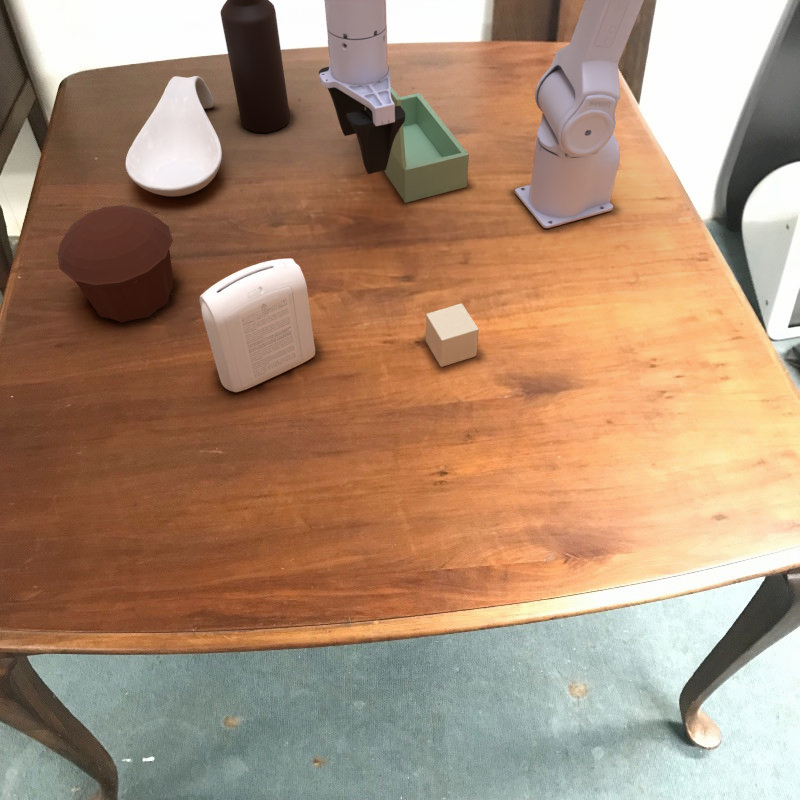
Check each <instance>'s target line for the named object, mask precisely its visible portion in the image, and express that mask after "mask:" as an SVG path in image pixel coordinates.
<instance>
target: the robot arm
mask: <svg viewBox="0 0 800 800" xmlns="http://www.w3.org/2000/svg"><path fill="white" fill-rule="evenodd" d="M644 2H645V0H584V3H583V6H582V8H581V12H580V14H579V17H578V20H577V23H576V26H575V28H574V31H573V34H572V37H571V40H570V43H569V44H568V45H565V46H563V47H561V48H560V49H558V50H556V52H555V55H554V58H553V60H552V63H551V65H550V66H549V68H548V69H547V70H546V71H545V72H544V74H543V75H542V76H541V77H540V78H539V80H538V82H537V84H536V87H535V92H534V100H535V103H536V106H537V108H538V109H539V110H540V111H541V113H542V114H541V120H540V124H539V126H538V128H537V134H536V140H535V147H534V155H533V162H532V168H531V169H532V170H531V175H530V178H531V179H530V183H529V184H528V185H523V186H520V187H516V188H515V189H514V193H515V195H516V196H517V197H518V198H519V200H520V201H521V202H522V204H523V205H524V206H525V207H526V208H527V210H528V211H529V212H530V214H531V215H532V216H533V217H534V218H535V219H536V221H537V222H538V223H539V224H540V226H541V227H542V228H544V229H550V228H554V227H557V226H561V225H564V224H568V223H572V222H575V221H579V220H582V219H586V218H589V217H594V216H597V215H600V214H604V213H607V212H611V211H613V210H614V205H613V204H612V203H611V199H612V194H613V191H614V186H615V182H616V179H617V174H618V170H619V165H620V159H621V155H620V153H621V152H620V146H619V142H618V139H617V137H616V135H615V131H616V130H615V128H616V123H617V122H616V111H617V106H618V103H619V101H620V99H621V85H620V73H619V63H620V61H621V58H622V55H623V53H624V51H625V48H626V45H627V43H628V41H629V38H630V36H631V33H632V30H633V29H634V26H635V23H636V21H637V18H638V16H639V13H640V11H641V9H642V6H643V3H644ZM324 11H325V19H326V20H325V22H326V33H327V48H328V57H329V61H328V62H329V63H328V66H326V67H322V68H321V69H319V71H318V75H319V82H320V83H321V85H322V86H323V87H324V88H325V89H327V90H328V93H329V95H330V97H331V100H332V103H333V107H334V109H335V113H336V116H337V117H336V118H337V119H338V123H339V127H340V129H341V131H342V133H343V135H344V137H347V136H352V135H356V138H357V141H358V144H359V148H360V154H361V158H362V163H363V166H364V169H365V171H366V173H367V174H369V175H370V174H375V173H379V172H384V170H386V168H387V164H388V160H389V156H390V152H391V148H392V144H393V141H394V139H395V136H396V134H397V132H398V131H399V129H400V127H401V126H402V124H403V123H404V122H405V112H404V110H403V109H402V107H401V106H395V104H394V102H393V101H392V98H391V88H390V85H391V67H390V66H389V60H388V59H389V58H388V57H389V56H388V53H389V52H388V25H387V21H388V20H387V0H324ZM365 108H366V110H365Z"/></svg>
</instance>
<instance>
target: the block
mask: <svg viewBox="0 0 800 800" xmlns="http://www.w3.org/2000/svg"><path fill="white" fill-rule="evenodd" d="M479 331H480V329H479V327H478V326H477V324H476V323H475V321H474V319H473V318H472V316H471V315H470V314H469V311H468V310H467V309H466V307H465V306H464V303H462V302H461V303H458V304H454V305H450V306H448V307H444V308H441V309H438V310H434V311H431V312H427V313H426V314H425V343H426V344H427V346H428V348H429V349H430V351H431V353H432V354H433V357H434V358H435V360H436V362H437V363H438V365H439V367H440V368H443V367H447V366H449V365H452V364H455V363H459V362H462V361H465V360H468V359H471V358H474V357H476V356H477V352H478V342H479Z"/></svg>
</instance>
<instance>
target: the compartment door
mask: <svg viewBox="0 0 800 800" xmlns="http://www.w3.org/2000/svg"><path fill="white" fill-rule="evenodd" d="M390 88H391V98H392V101H393V102H394V104H395V106H401V98H400V97H401V96H399V95H398V93H397V92H396V90H395V89H394V88H393V86H392V85H391V84H390ZM365 110H366V108H365ZM391 152H392V154H393V155H394V157H395V158H396V160H397V161H398V162H399V164H400V165H401V167H402V168H406V156H405V144H404V132H403V124H402V126H401V127H400V129H399V131H398V132H397V134H396V136H395V139H394V141H393V144H392V148H391Z"/></svg>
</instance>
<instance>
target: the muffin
mask: <svg viewBox="0 0 800 800" xmlns="http://www.w3.org/2000/svg"><path fill="white" fill-rule="evenodd" d="M173 242H174V241H173V237H172V233H171V229H170V226H169V225H167V223H164V222H163V220H161V219H160V218H159V217H157V216H155V214H153V213H151V212H150V211H148V210H146V209H144V208H142V207H136V206H131V205H125V204H123V205H122V204H119V205H112V206H110V205H109V206H104V207H101V208H98V209H95V210H92V211H89V212H87V213H86V214H84V216H81V217H80V218H79V219H78V220H76V221H75V222H73V223H72V224H71V225H70V227H69V228H68V230H67V232H66V233H65V234H64V237H63V238H62V239H61V241H60V244H59V248H58V252H57V260H58V261H57V262H58V267H59V270H60V271H61V272H62V273H63V274H65V276H67V277H68V278H70V279H71V280H72V281H74V282H75V283H76V284H77V286H78V288H79V289H80V290H81V292H82V293H83V295H84V297H86V299H87V300H88V302H89V304H91V306H92V307H93V310H95V312H96V313H97V314H98V316H99V317H101V318H105V319H111V320H113V321H116V322H119V323H126V322H131V321H135V320H140V319H148V318H149V317H151V316H152V315H153V314H154V313H156V312H157V311H158V310H159V309H161V308H163V307H164V306H166V305H167V304H169V299H170V295H171V292H172V290H173V288H174V279H173V269H172V262H171V252H170V248H171V246H172V244H173Z"/></svg>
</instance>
